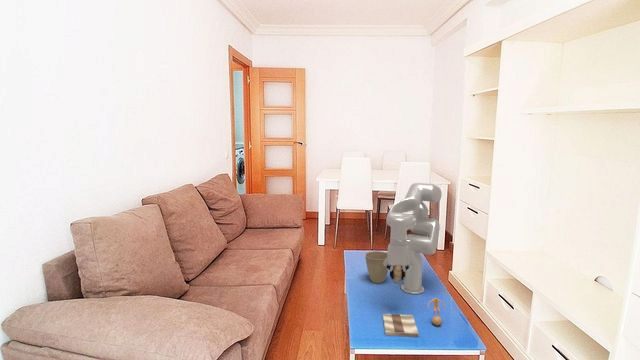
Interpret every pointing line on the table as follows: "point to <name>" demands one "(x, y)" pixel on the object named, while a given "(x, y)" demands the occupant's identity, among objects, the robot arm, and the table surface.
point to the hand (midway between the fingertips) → (397, 278)
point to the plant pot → (376, 266)
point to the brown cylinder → (397, 274)
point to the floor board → (400, 325)
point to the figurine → (435, 319)
